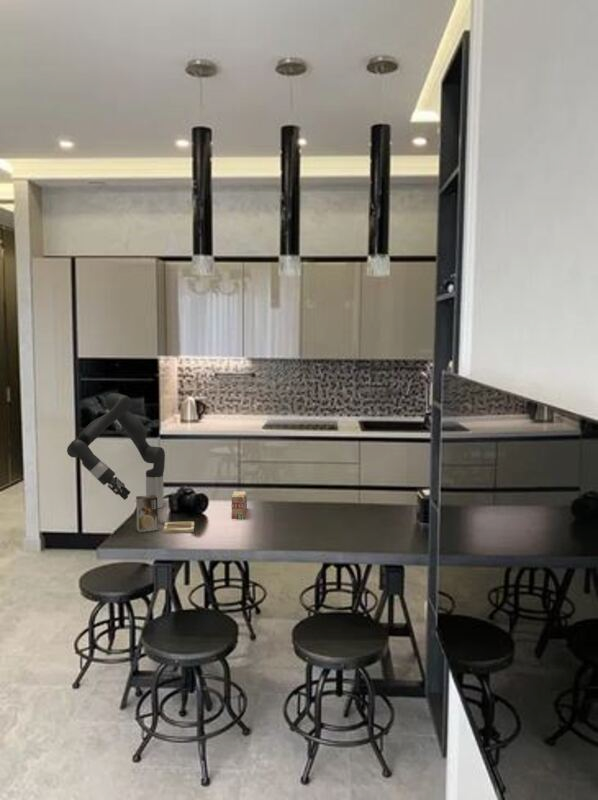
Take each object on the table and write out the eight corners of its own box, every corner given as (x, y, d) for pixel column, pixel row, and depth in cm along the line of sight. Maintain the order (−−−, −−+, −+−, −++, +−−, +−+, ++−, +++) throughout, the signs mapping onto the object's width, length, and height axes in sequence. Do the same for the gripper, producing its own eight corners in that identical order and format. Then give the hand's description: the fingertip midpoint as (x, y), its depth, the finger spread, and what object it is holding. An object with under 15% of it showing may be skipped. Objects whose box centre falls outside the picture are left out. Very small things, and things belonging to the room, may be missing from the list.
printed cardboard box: (235, 509, 334) (235, 487, 333) (247, 509, 334) (247, 487, 333) (231, 520, 312) (231, 496, 311) (243, 520, 312) (243, 496, 311)
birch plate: (165, 525, 301) (165, 522, 301) (194, 524, 303) (194, 521, 303) (163, 533, 288) (163, 530, 287) (193, 532, 290) (193, 529, 290)
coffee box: (155, 527, 298) (155, 494, 297) (158, 530, 292) (158, 497, 291) (136, 529, 294) (136, 496, 293) (138, 532, 288) (138, 499, 287)
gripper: (105, 470, 281) (131, 494, 284) (110, 464, 295) (135, 487, 298) (93, 481, 281) (120, 505, 284) (99, 475, 295) (124, 498, 298)
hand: (127, 496), depth 291 cm, fingers open, 8 cm apart
